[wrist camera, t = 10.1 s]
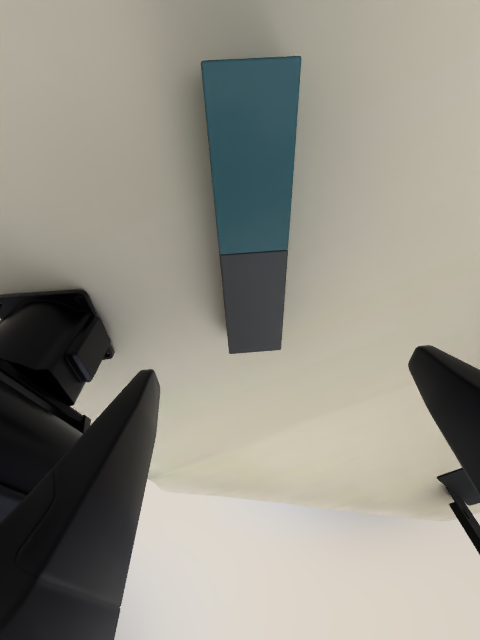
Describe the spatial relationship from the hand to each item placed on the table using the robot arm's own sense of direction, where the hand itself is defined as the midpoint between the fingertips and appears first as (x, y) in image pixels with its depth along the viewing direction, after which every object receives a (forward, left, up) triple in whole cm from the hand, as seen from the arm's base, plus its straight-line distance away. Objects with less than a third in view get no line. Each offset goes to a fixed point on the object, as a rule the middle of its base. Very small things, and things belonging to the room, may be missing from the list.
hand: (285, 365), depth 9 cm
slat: (0, +1, -11) cm, 11 cm away
